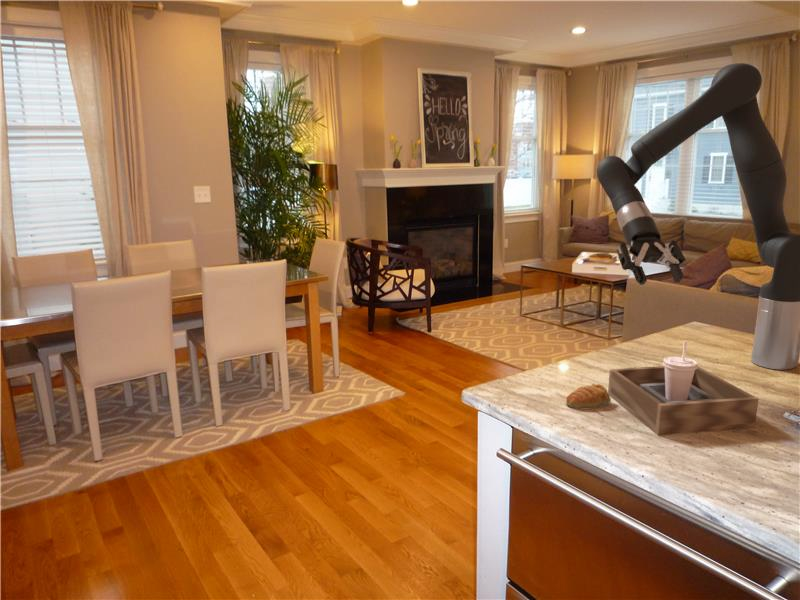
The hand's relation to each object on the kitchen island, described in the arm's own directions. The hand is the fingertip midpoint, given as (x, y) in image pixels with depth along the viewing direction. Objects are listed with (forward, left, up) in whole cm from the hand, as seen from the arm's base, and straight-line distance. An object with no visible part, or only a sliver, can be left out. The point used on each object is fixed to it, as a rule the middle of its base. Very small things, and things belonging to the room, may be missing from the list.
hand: (661, 281), depth 129 cm
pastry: (+19, +8, -25) cm, 32 cm away
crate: (+3, +14, -24) cm, 28 cm away
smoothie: (+3, +14, -23) cm, 28 cm away
